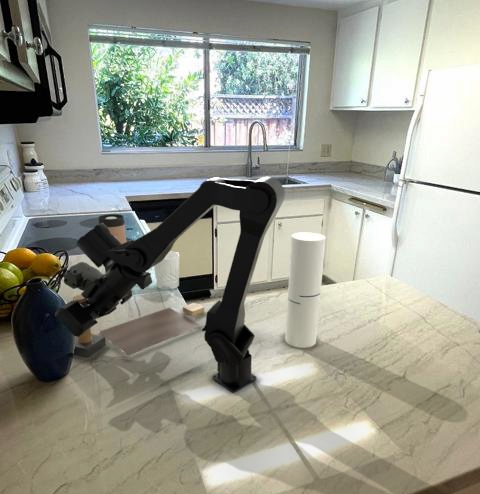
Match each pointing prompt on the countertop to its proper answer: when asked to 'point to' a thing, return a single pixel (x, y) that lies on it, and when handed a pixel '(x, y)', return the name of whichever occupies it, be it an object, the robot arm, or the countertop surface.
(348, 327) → the countertop surface
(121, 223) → the travel mug
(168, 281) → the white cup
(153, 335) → the cutting board
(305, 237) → the cylindrical container
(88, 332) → the stamp
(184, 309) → the tan wooden block
